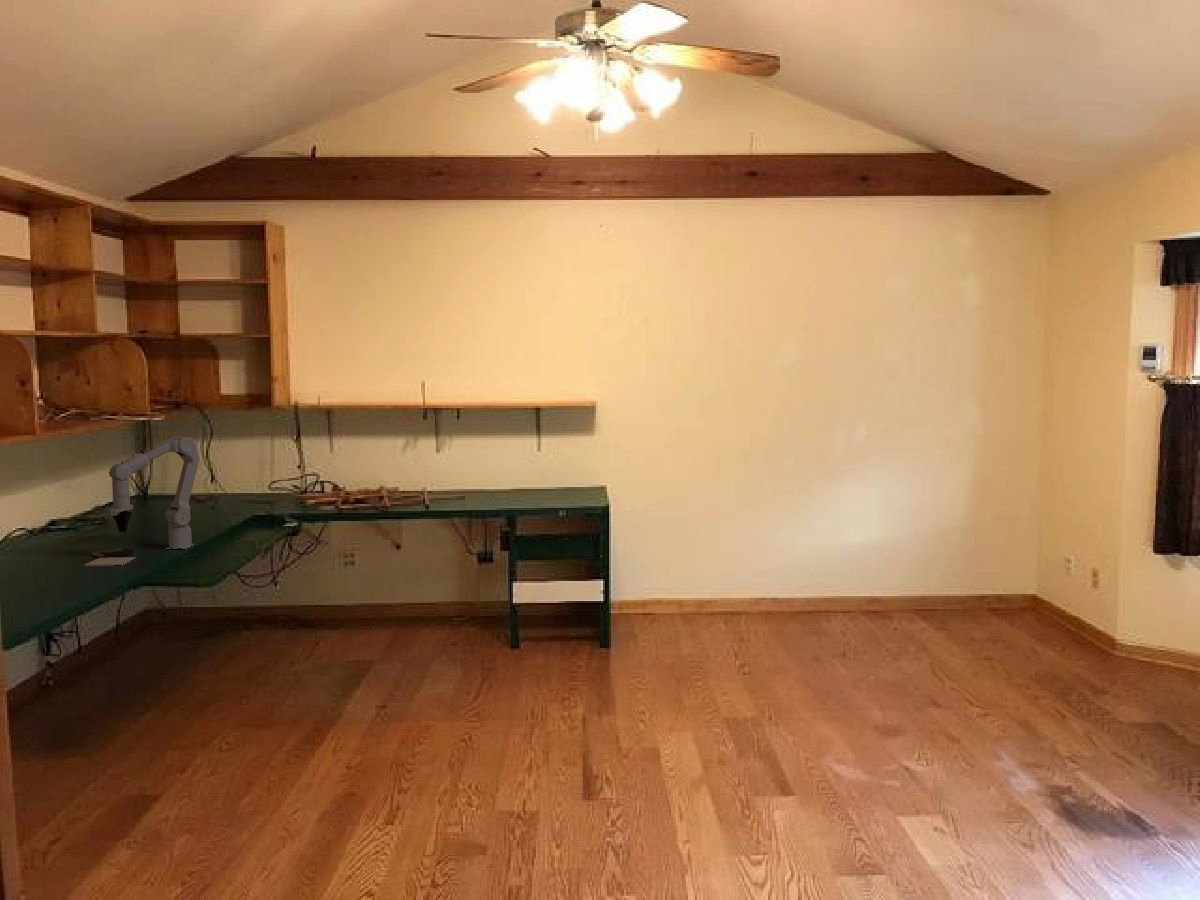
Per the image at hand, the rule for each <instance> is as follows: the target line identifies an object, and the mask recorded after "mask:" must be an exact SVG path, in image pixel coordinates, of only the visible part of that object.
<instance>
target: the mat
mask: <svg viewBox="0 0 1200 900" xmlns="http://www.w3.org/2000/svg"><path fill="white" fill-rule="evenodd" d="M135 558H136V559H137V557H136V556H133V557H130V556H128V557H126V556H125V557H124V556H123V557H122V556H116V557H109V558H101V557H98V558H96V559H94V560H92V561H89V562H87V563H85V564H84V567H115V566H114V565H122V566H124V565H126V564H128V563H130V562H132V561H131V560H133V559H135ZM136 559H135V560H136ZM129 561H130V562H129ZM133 561H134V560H133ZM127 562H128V563H127ZM125 563H126V564H125ZM123 564H124V565H123Z"/></svg>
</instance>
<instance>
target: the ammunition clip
mask: <svg viewBox="0 0 1200 900" xmlns="http://www.w3.org/2000/svg"><path fill="white" fill-rule="evenodd" d="M91 554H92V556H95V557H98V558H113V557H122V556H123V557H124V556H129V555H134V550H133V548H116V549H110V550H103V551H97V552H92V553H91Z"/></svg>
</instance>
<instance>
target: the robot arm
mask: <svg viewBox="0 0 1200 900" xmlns="http://www.w3.org/2000/svg"><path fill="white" fill-rule="evenodd" d="M197 447H198V445H197V443H196V441H195V440H194V439H192V438H191V437H189V436H187V437H184V436H180V435H175V436H173V437H172V438H168V439H166V440H165V441H164V442H162V443H160V444H158V445H157V446H155V447H153V448H152V449H150V450H148V451H147V452H144V453H141V452H140V453H139V452H138V453H132V455H131V456H130V457H129V458H127V459H125V460H121V461H120V463H116V464H112V466H111V467H110V469H109V471H108V475H109V476H110V478H111V486H112V506H111V507H109V511H110V516H112V518H113V519H114V521H115V523H116V525H117V529H118V532H119V533H125V532H127V531H128V525H129V521H130V519H131V517H132V515H133V513H132V511H133V510H134V505H133V504H131V497H130V494H131V493H130V478H131V476H132V475H133V474H135V473H137V472H139V471H141V470H142V469H144V468H147V467H148V465H149V462H151V461H152V460H155V459H157V458H159V457H160V456H162V455H165V454H167V453H176V454H177V455H178V456H179V457H180V458H181V460H182V461H183V464H182V468H181V472H180V476H179V480H178V484H177V487H176V488H177V489H176V492H175V496H174V500H173V501H172V502H171V503H170V505H169V508H168V509H167V510H166V512H165V514H164V517H165V521H166V522H167V523H168V525H167V526H168V527H167V530H168V531H167V532H168V547H166V548H165V549H170V548H173V549H177V548H182V549H186V550H187V548H188V549H190V548H191V546H192V547H194V546H195V543H193V540H192V539H193V538H192V528H191V527H190V526H189V523H190V522H191V517H192V516H191V505H190V503H189V502H190V499H191V494H192V491H193V486H194V483H195V479H196V474H197V472H198V466H199V463H200V457H199V452H198V449H197ZM193 545H194V546H193ZM189 547H190V548H189Z"/></svg>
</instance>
